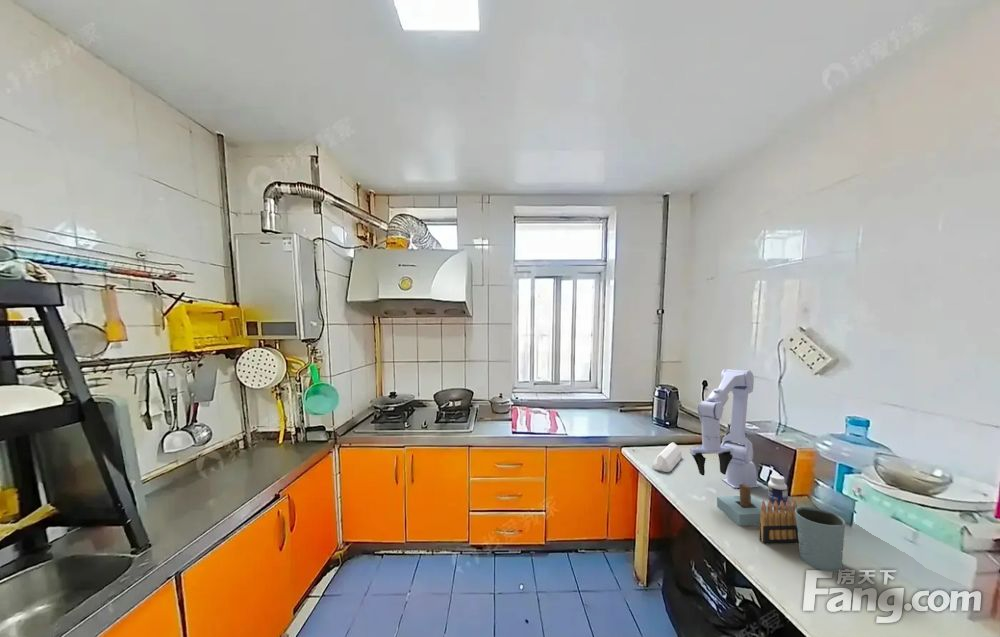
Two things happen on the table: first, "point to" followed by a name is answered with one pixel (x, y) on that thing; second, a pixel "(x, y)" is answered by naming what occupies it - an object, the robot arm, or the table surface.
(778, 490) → the pill bottle
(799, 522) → the grey plant pot
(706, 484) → the table surface
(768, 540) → the ammunition clip
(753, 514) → the socket block
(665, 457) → the crystal
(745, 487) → the walnut peg
